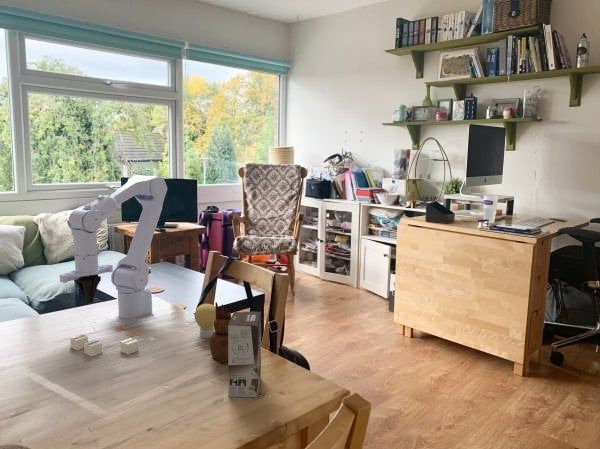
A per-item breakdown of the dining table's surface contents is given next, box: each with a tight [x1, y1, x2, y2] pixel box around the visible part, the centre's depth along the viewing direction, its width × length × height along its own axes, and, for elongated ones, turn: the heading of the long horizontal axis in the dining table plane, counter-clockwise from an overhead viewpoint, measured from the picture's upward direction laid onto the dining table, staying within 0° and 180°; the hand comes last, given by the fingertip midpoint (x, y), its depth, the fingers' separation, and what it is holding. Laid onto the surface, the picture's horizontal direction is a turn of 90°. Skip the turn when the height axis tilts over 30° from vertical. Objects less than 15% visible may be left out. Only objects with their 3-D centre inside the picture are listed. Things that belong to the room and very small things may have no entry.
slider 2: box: [119, 337, 139, 355], centre depth 125 cm, size 3×3×3 cm
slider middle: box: [83, 339, 103, 357], centre depth 124 cm, size 3×3×3 cm
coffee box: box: [227, 311, 262, 398], centre depth 109 cm, size 9×6×16 cm
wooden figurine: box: [209, 301, 232, 364], centre depth 122 cm, size 7×6×15 cm
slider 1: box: [69, 334, 89, 351], centre depth 127 cm, size 3×3×3 cm
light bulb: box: [194, 303, 216, 339], centre depth 136 cm, size 6×6×10 cm
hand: (88, 302), depth 137 cm, fingers closed
